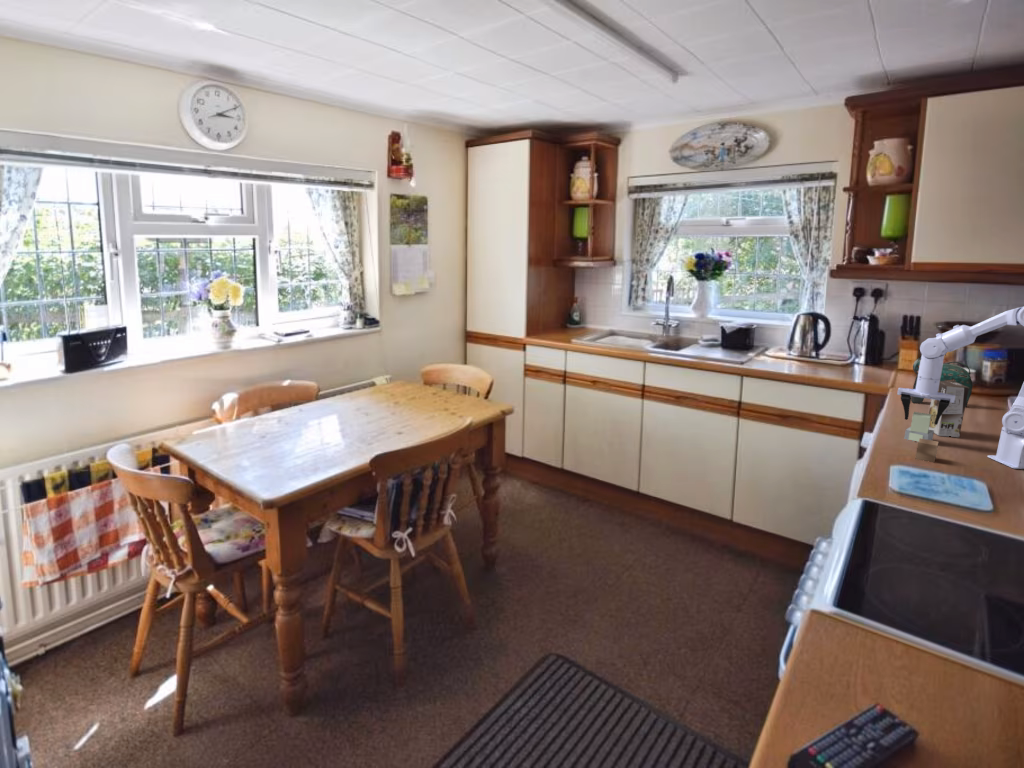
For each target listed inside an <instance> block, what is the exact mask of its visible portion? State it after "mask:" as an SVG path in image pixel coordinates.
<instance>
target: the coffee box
mask: <svg viewBox="0 0 1024 768" xmlns="http://www.w3.org/2000/svg"><path fill="white" fill-rule="evenodd" d="M968 391H969V387H967V386H964V385H962V384H960V383H958V382H954V381H940V383H939V389H938V392H939V393H944V394H949V395H955V401H954V403H951V402H950V403H949V405H948V407H947V408H946V409H945V410H944V412H943V413H942V415H941V417H940V418H939V421H938V424H937V425H936V424H935V419H936V416H937V412H938V406H939V401H940V400H934V399H930V400H931V401H930V406H929V412H928V414H931V420H930V425H929V430H934V434H935V435H937V436H939V437H949V436H951V437H950V438H952V437H953V438H960V436H961V431H962V430H961V429H962V425H963V420H964V416H965V410H966V407H965V406H966V401H967V396H968Z"/></svg>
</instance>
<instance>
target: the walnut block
mask: <svg viewBox="0 0 1024 768" xmlns="http://www.w3.org/2000/svg"><path fill="white" fill-rule="evenodd" d="M938 447H939V441H936V440H933V439H932V440H926V439H921V438H920V439H919V441H918V443H917V447H916V453H915V460H918V459H919V460H918V461H923V460H924V462H928V461H929V462H928V463H935V461H936V457H937V453H938Z"/></svg>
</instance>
